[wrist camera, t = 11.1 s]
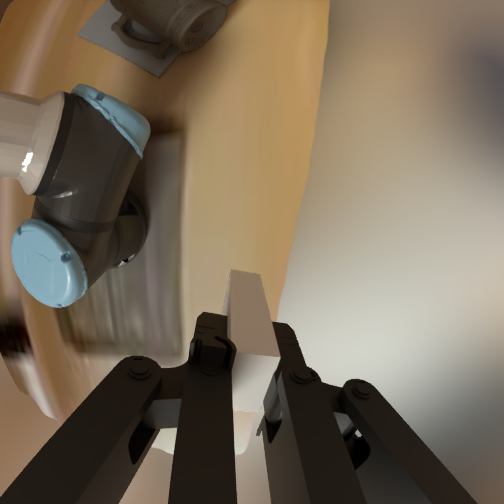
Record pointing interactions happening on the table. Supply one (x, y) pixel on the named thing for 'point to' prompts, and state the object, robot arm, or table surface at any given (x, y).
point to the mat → (108, 39)
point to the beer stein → (170, 23)
